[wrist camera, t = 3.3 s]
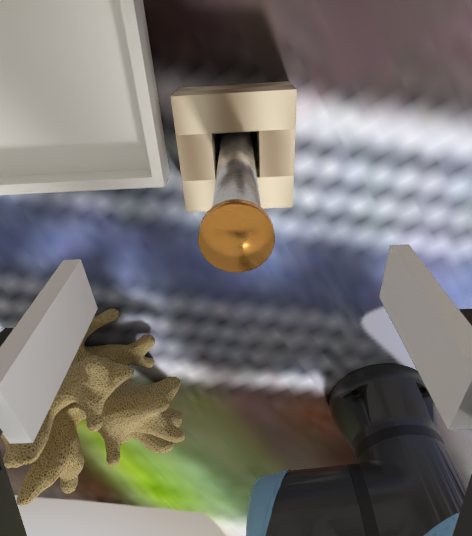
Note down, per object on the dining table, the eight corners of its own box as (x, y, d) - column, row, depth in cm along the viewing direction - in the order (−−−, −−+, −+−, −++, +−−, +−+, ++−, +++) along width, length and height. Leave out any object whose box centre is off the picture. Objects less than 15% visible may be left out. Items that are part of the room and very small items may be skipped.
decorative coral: (-140, 331, 34) (-9, 554, 24) (71, 222, 46) (219, 338, 36) (-16, 431, 53) (87, 579, 42) (111, 334, 65) (215, 432, 54)
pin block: (289, 81, 33) (296, 89, 29) (286, 187, 39) (292, 206, 34) (178, 87, 33) (170, 96, 29) (191, 191, 39) (186, 211, 35)
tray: (134, -57, 28) (122, -66, 25) (170, 174, 38) (164, 187, 35) (-146, -37, 29) (-190, -44, 26) (-39, 185, 38) (-62, 198, 36)
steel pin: (256, 118, 35) (274, 203, 18) (257, 160, 37) (274, 270, 20) (214, 120, 35) (194, 207, 18) (217, 162, 37) (202, 273, 20)
